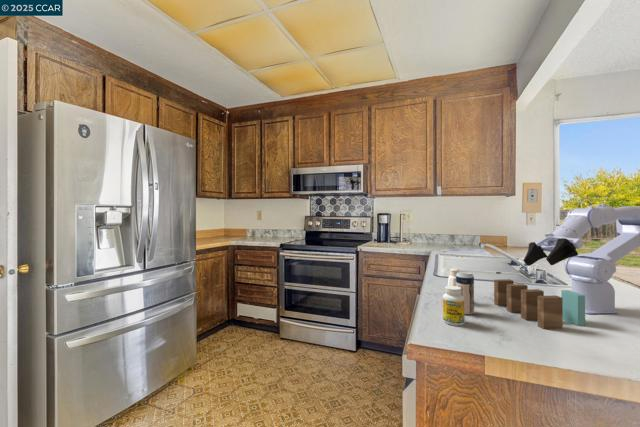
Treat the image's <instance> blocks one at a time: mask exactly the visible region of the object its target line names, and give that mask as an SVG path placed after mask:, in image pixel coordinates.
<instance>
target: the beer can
mask: <svg viewBox="0 0 640 427" xmlns="http://www.w3.org/2000/svg"><path fill="white" fill-rule="evenodd" d="M456 286H457V287H460V288H461V294H460V295H462V296H463V297H464V316H465V315H466V316H470V315H472V314H475V276H474V274H473V273H472V272H471V271H470V272H469V271H462V270H461V271H460V270H459V272H457V274H456Z"/></svg>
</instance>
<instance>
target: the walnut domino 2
mask: <svg viewBox="0 0 640 427" xmlns="http://www.w3.org/2000/svg"><path fill="white" fill-rule="evenodd" d="M521 290H529V289H528V285H526V284H525V283H524V284H523V283H513V284H507V306H506V311H507V312H509V313H511V314H519V313H520V314H521Z"/></svg>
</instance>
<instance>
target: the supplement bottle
mask: <svg viewBox="0 0 640 427" xmlns="http://www.w3.org/2000/svg"><path fill="white" fill-rule="evenodd" d="M444 291H445V293H444V294H443V295H442V320H443V322H444V323H445V324H447V325H451V326H455V327H457V326H458V327H459V326H464V325H465V321H466V320H465V315H464V297H463V296H462V295H460V294H461V288H460V287H457V286H448V285H446V286H445V287H444Z"/></svg>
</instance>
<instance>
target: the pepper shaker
mask: <svg viewBox="0 0 640 427" xmlns="http://www.w3.org/2000/svg"><path fill="white" fill-rule="evenodd" d="M449 271H450V273H449V274H450V275H449V276H448V278H447V279H448V280H447V286H456V274H457V272H459V271H460V269H458V268H450V269H449Z"/></svg>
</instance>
